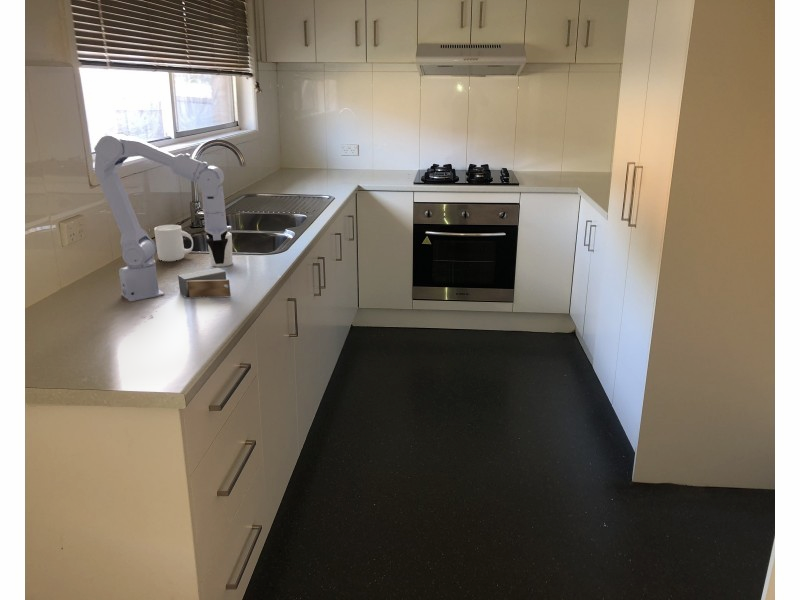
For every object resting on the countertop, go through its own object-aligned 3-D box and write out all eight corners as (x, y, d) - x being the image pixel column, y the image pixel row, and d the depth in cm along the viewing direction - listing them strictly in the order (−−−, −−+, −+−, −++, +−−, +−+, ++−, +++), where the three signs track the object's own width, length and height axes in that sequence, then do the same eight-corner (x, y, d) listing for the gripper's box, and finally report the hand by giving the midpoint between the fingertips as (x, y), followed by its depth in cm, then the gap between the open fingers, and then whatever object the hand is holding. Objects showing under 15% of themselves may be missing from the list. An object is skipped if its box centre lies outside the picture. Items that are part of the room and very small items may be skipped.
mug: (192, 261, 213) (188, 229, 210) (155, 262, 212) (151, 230, 209) (197, 254, 221) (193, 224, 218) (161, 255, 220) (157, 225, 217)
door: (185, 298, 176) (183, 282, 174) (187, 296, 177) (185, 280, 176) (229, 297, 176) (227, 281, 175) (230, 295, 178) (229, 279, 176)
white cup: (239, 263, 211) (236, 233, 207) (221, 268, 204) (218, 238, 201) (222, 259, 215) (219, 230, 211) (204, 265, 208) (201, 235, 205)
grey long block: (186, 297, 177) (184, 279, 175) (180, 293, 181) (177, 275, 179) (227, 289, 184) (225, 271, 183) (220, 285, 188) (218, 267, 186)
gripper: (230, 215, 167) (235, 265, 172) (228, 205, 180) (233, 252, 185) (202, 217, 165) (208, 267, 170) (202, 207, 178) (207, 254, 183)
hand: (219, 259), depth 177 cm, fingers open, 7 cm apart
